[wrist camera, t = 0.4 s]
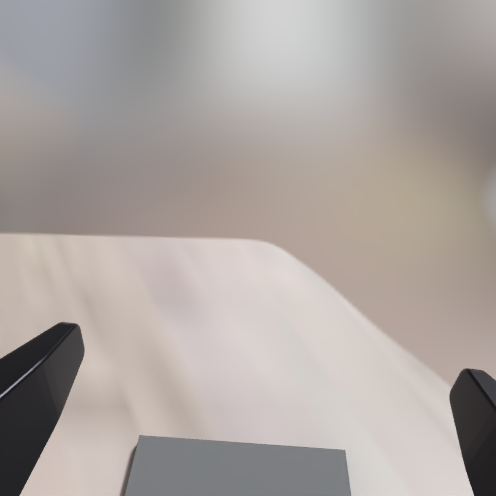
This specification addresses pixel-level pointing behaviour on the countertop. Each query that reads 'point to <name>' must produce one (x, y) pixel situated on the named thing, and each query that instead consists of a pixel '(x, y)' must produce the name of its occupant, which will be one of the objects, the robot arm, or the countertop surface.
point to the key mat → (234, 469)
